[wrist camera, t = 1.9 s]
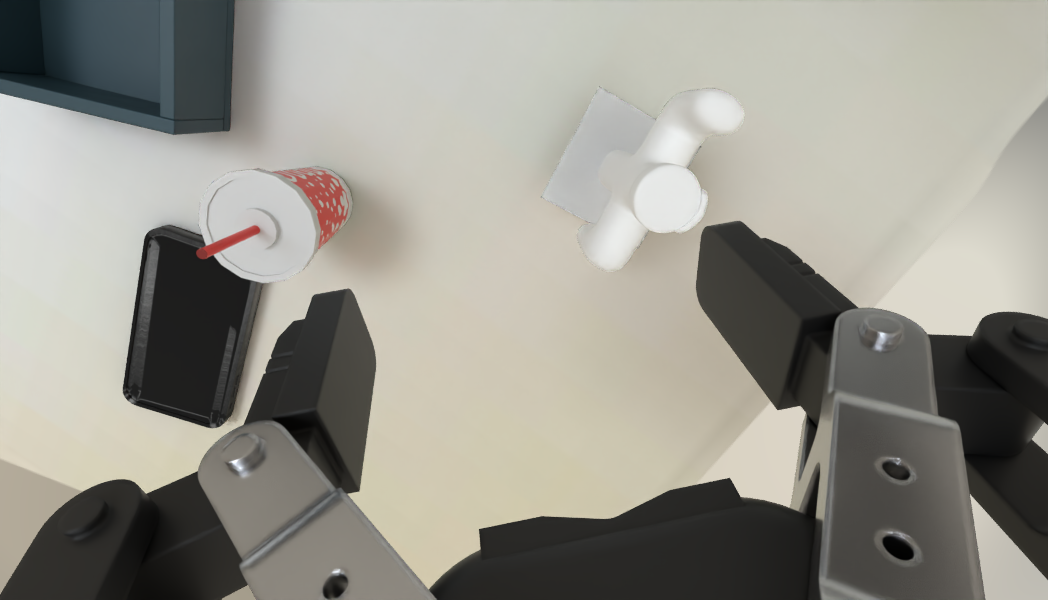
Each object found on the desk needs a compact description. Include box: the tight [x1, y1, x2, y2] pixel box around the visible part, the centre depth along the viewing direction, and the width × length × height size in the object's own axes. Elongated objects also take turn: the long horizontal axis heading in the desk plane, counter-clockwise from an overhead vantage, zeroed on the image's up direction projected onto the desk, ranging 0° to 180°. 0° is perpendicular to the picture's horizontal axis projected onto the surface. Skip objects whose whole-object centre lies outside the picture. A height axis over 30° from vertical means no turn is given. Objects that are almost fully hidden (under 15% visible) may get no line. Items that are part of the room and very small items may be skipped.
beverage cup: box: [196, 167, 353, 283], centre depth 28 cm, size 6×6×14 cm
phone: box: [123, 225, 263, 428], centre depth 38 cm, size 8×1×15 cm
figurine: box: [541, 86, 744, 272], centre depth 27 cm, size 7×9×15 cm
